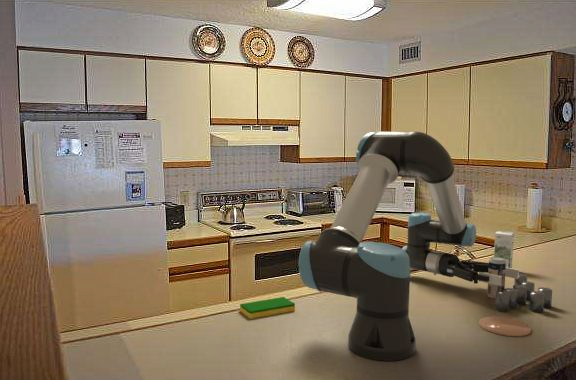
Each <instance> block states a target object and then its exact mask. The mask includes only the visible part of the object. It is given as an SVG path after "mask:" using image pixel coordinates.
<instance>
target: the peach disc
mask: <svg viewBox="0 0 576 380" xmlns="http://www.w3.org/2000/svg"><path fill="white" fill-rule="evenodd" d="M479 327H480V328H482V329H483V330H485V331H486V332H490V333H492V334H496V335H500V336H503V337H504V336H507V337H525V336H528V335H530V334H531V332H532V327H531V326H530V325H529V324H528V323H526V322H523V321H521V320H519V319H515V318H511V317H506V316H485V317H482V318H480V320H479Z"/></svg>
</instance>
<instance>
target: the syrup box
mask: <svg viewBox="0 0 576 380" xmlns="http://www.w3.org/2000/svg"><path fill="white" fill-rule="evenodd" d="M494 233H495V234H494V249H493V250H494V251H493V254H494V255H493V257H499V258H503V259H504V260H505V262H506V267H507V268H512V269H513V257H514V255H513V254H514V242H515V241H514V240H515V237H514V236H515V233H514V232H513V231H504V230H497V231H496V232H494Z"/></svg>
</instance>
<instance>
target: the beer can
mask: <svg viewBox="0 0 576 380" xmlns="http://www.w3.org/2000/svg"><path fill="white" fill-rule="evenodd" d="M488 263H489V268H488V274H493V275H498V276H502V285H501V286H498V285H494V284H489V283H487V290H486V291H487V292H486V293H487V297H489V298H490V299H492V298H493V299H494V300H496V291H504V290H505V289H506V287H505V285H506V276H505V270H506V262H505V260H504V259H503V258H499V257H494V256H493V257H490V258H489V260H488Z"/></svg>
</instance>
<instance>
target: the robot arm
mask: <svg viewBox="0 0 576 380" xmlns="http://www.w3.org/2000/svg"><path fill="white" fill-rule="evenodd" d="M356 149H357V151H356V152H355V158H356V160H355V161H356V164H357V166H358V170H359V172H358V174H357V176H356V178H355V179H354V181H353V184H352V186H351V187H350V190H349V191H348V194H347V195H346V197H345V199H344V201H343V203H342V204H341V207H340V209H339V210H338V212H337V215H336V217H335V218H334V220H333V223H332V225H331V226H330V227H329V228H325V229H322V231H321V232H320V234H319V236H318V238H317V239H316V241H315V240H313V239H311V240H308V241H306V242H304V243H303V245H302V246H301V249H300V252H299V256H298V273H299V277H300V280H301V281H302V283H303V284H304V286H305V287H307V288H308V289H312V290H316V291H318V292H320V293H321V292H324V293H329V294H335V295H339V296H344V297H350V298H355V299H356V311H355V312H356V313H355V315H354V319H353V321H352V324H351V327H350V329H349V333H348V339H347V340H348V342H347V345H348V348H349V349H350V350H351V352H353V353H354V352H355V354H356V353H357V355H358V354H359V355H358V356H360V355H361V357H363V358H366V357H367V358H366V359H371V360H376V361H385V362H387V361H388V362H390V361H392V362H393V361H402V360H405V359H408V358H411V357H412V356H413V355H414V354H416V347H417V346H416V344H417V341H416V337H415V333H414V330H413V326H412V324H411V319H410V315H409V312H410V310H409V308H410V307H409V306H410V285H411V283H410V282H411V281H410V280H411V273H412V272H411V269H412V270H417V271H418V270H419V271H421V272H423V271H424V272H426V273H427V272H428V273H432V274H433V275H434V276H436V275H441V276H445V277H448V278H453V277H456V278H459V279H461V280H465V281H467V282H470V283H472V282H473V284H475V285H476V284H478V283H479V282H480V283H485V284H488V283H489V284H494V285H498V286H501V285H502V276H498V275H493V274H488V268H489V262H485V261H477V260H471V259H467V260H461V261H460V259H459V256H458V255H457V254H453V253H449V252H444V251H439V250H434V249H433V250H432V249H431V248H430V247H431V243H433V244H442V245H450V246H459V247H468V248H469V247H473V246H474V245H475V242H476V238H477V227H476V226H475V225H474V224H472V223H469V222H466V220H465V216H464V212H463V208H462V205H461V201H460V197H459V194H458V190H457V186H456V183H455V179H454V176H453V175H454V172H455V166H454V162H453V159H452V157H451V155H450V153H449V152H448V150H447V149H446V148H445V146H443V145H442V144H441V142H439V141H438V140H437V139H435V138H434V137H433V136H431V135H429V134H428V133H425V132H422V131H414V130H413V131H381V130H380V131H374V132H372V131H371V132H368V133H366V134H364V135H363V136H362V138H361V139H360V140H359V143H358V145H357V148H356ZM401 173H403V174H404V173H405V174H412V173H413V174H417V175H419V176H420V179H421V181H423V182H424V183H426V186H427V188H428V191H429V195H430V197H431V200H432V203H433V205H434V208H435V211H436V212H435V213H436V215H437V217H438V220H435V219H432V216H431V214H430V213H426V212H411V214H409V215H408V220H407V221H408V222H407V245H404V246H403V247H402V248H401V247H399V246H396V245H393V244H391V243H390V244H389V243H386V242H380V241H379V242H378V241H376V242H375V241H363V240H364V237H365V236H366V233H367V232H368V229H369V226H370V225H371V222H372V220H373V218H374V216H375V214H376V211H377V210H378V206H379V205H380V203H381V200H382V198H383V196H384V193H385V191H386V190H387V187H388V186H389V185H390V184H392V183H393V184H394V182H396V180H397V179H398V176H399V174H401ZM362 241H363V242H362ZM519 274H520V269H516V268H513V267H512V268H507V267H506V270H505V278H506V277H507V278H511V279H515V278H516V279H519Z"/></svg>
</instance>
